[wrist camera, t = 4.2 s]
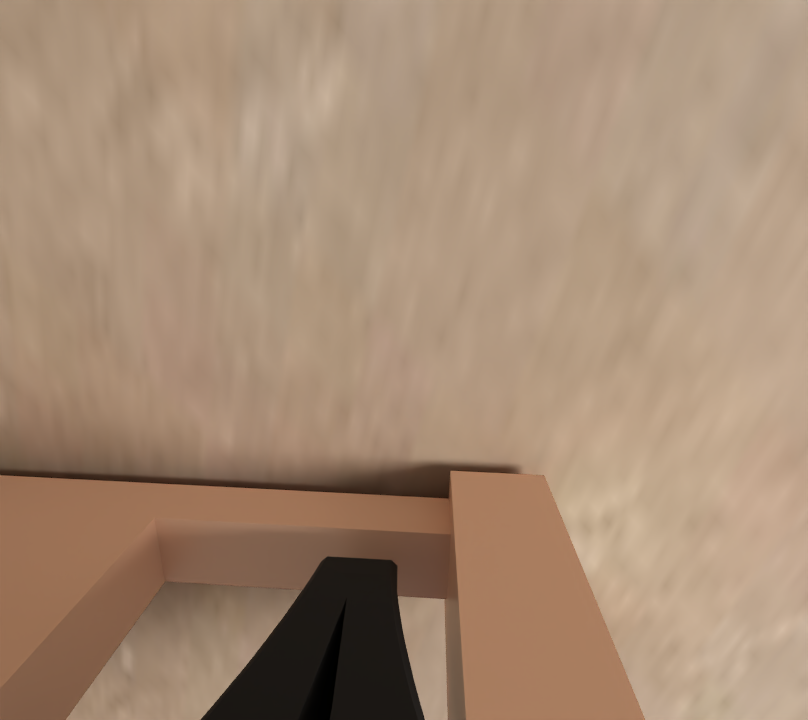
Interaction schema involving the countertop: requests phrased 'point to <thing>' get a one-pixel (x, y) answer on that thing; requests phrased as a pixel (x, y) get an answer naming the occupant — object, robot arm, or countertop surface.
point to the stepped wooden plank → (292, 569)
